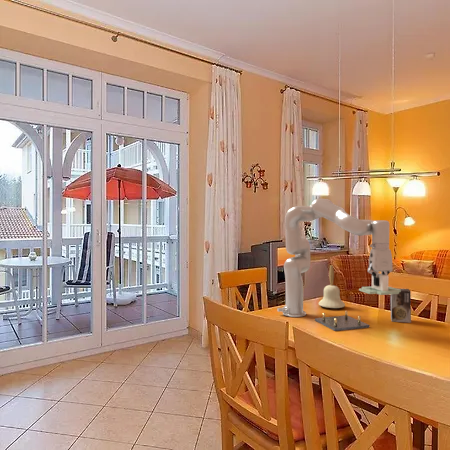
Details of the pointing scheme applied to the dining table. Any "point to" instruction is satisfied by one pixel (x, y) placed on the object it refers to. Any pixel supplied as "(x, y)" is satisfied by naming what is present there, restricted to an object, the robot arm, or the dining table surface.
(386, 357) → the dining table surface
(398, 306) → the coffee box
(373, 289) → the board
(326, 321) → the plate
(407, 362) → the dining table surface
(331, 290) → the handbell
